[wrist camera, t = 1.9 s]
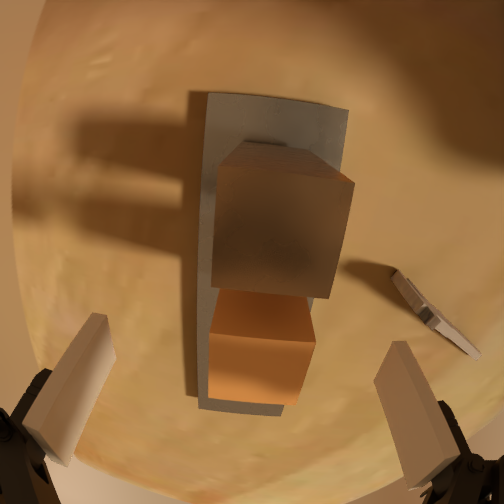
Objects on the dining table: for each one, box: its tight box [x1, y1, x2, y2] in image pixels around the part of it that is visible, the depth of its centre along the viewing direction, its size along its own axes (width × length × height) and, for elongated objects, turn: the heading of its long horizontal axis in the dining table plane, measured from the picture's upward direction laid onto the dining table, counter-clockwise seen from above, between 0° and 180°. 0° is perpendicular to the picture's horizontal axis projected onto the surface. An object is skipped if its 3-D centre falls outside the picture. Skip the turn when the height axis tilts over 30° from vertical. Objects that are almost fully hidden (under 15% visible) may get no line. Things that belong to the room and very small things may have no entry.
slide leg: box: [208, 288, 316, 405], centre depth 17 cm, size 4×4×11 cm
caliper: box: [390, 270, 482, 360], centre depth 23 cm, size 20×1×6 cm, turn 54°
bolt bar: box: [197, 93, 355, 416], centre depth 19 cm, size 9×30×13 cm, turn 174°
